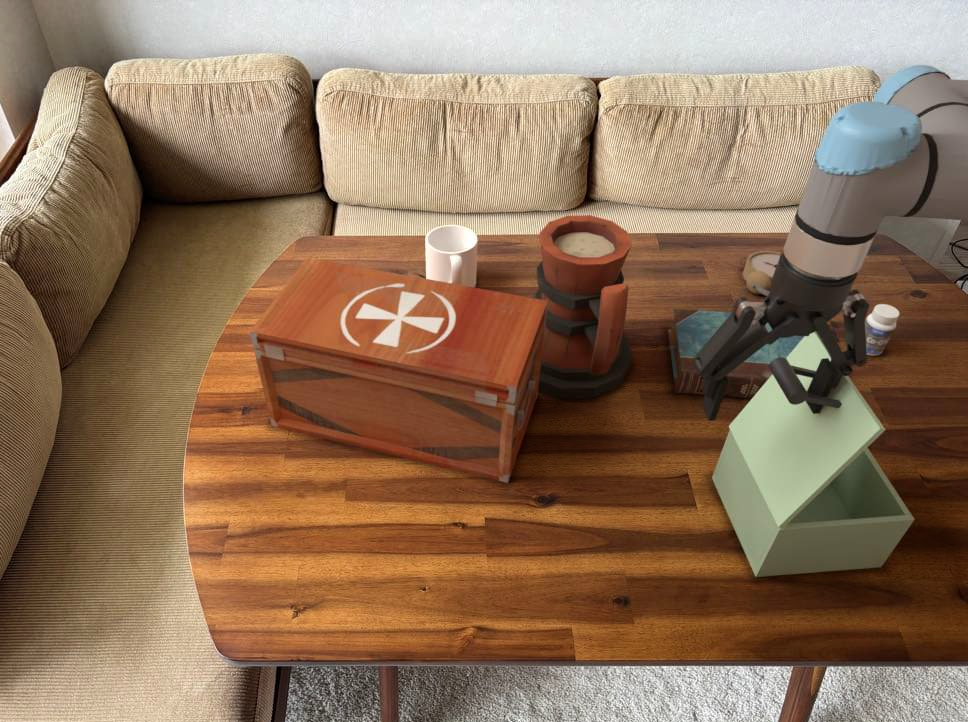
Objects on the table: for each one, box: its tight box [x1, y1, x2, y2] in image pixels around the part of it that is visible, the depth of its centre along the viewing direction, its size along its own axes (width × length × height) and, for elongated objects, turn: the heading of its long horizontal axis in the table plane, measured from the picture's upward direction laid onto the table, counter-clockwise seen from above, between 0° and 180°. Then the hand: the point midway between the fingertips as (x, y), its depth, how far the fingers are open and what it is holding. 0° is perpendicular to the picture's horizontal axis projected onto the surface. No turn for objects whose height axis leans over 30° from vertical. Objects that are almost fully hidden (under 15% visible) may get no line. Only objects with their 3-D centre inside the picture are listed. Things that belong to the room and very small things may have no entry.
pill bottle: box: [865, 303, 900, 357], centre depth 135 cm, size 5×5×8 cm
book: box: [667, 308, 804, 400], centre depth 133 cm, size 23×18×5 cm
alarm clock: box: [742, 250, 783, 297], centre depth 150 cm, size 11×5×15 cm
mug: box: [424, 224, 478, 288], centre depth 150 cm, size 13×10×10 cm
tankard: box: [533, 214, 633, 400], centre depth 128 cm, size 22×25×25 cm
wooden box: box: [249, 257, 548, 484], centre depth 122 cm, size 20×41×20 cm, turn 71°
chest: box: [711, 430, 915, 578], centre depth 107 cm, size 18×18×11 cm
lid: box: [728, 332, 886, 528], centre depth 96 cm, size 18×18×8 cm
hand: (759, 409), depth 94 cm, fingers open, 12 cm apart
